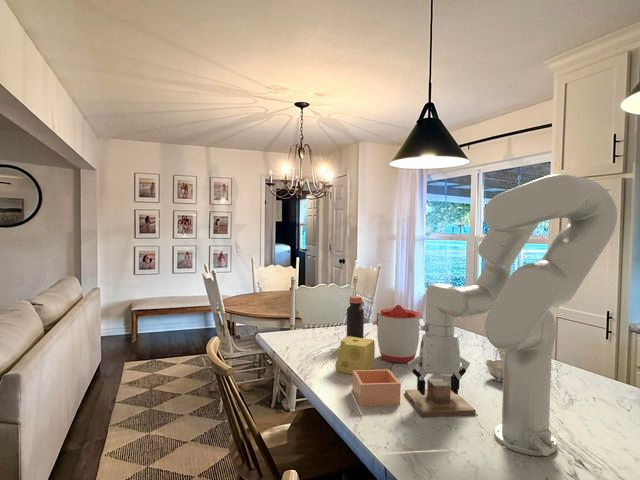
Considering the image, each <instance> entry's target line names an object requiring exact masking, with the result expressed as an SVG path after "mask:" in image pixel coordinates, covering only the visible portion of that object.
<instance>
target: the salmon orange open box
mask: <svg viewBox="0 0 640 480" xmlns="http://www.w3.org/2000/svg"><path fill="white" fill-rule="evenodd" d="M401 385H402V384H401V382H400V381H399V379H398V378H397V377H396V376H395V375H394V373H393V372H392V371H391V370H390V369H371V370H353V374H352V390H351V391H352V393H353V394H354V396H355V399H356V400H357V402H358V404H359V406H360V407H368V406H369V407H370V406H374V407H375V406H393V405H395V406H396V405H398V406H399V405H401V387H402V386H401Z"/></svg>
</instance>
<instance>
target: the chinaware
mask: <svg viewBox="0 0 640 480" xmlns="http://www.w3.org/2000/svg"><path fill="white" fill-rule="evenodd" d="M496 351H497V353H498V355H499V358H500V359H495V360H492V359H486V361H485V366H486V367H487V370H488V373H489V375H490V376H491V377H492V378H493V380H494V381H495V382H500V383H503V367H504V354H505V351H503V350H500V349H498V348H496Z"/></svg>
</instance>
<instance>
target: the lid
mask: <svg viewBox="0 0 640 480" xmlns="http://www.w3.org/2000/svg"><path fill="white" fill-rule="evenodd" d="M426 385H427V389H426V388H425V394H424V395H422V394H421V393H420V392H419V391H418V390H417V389H405V390H404V391H405V392H404V393H405V395H406V396H407V397H408V398H409V400H410V401H411V402H412V404H413V405H414V406H415V407H416V409H417V410H418V411H419V413H420V414H421V415H422V416H423V417H428V416H453V415H475V413H477V412H476V409H475V408H474V407H473V406H472V405H471V404H469V402H467V400H466V399H465V398H463V397H462V396H461V395H460V394H459V393H458V394H455V393H454V392H453V391H452V390H451V385H449V384H448V383H447V382H445V380H443V379H442V378H427V384H426Z"/></svg>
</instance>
